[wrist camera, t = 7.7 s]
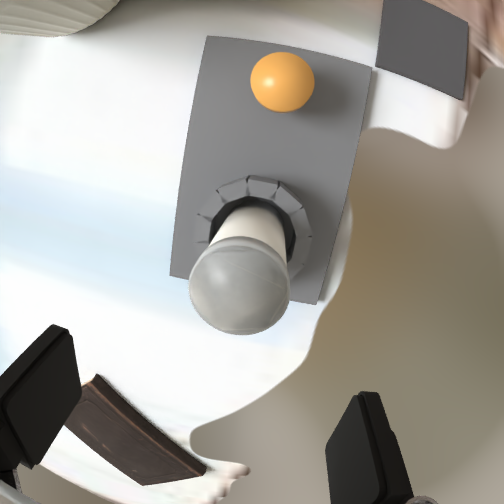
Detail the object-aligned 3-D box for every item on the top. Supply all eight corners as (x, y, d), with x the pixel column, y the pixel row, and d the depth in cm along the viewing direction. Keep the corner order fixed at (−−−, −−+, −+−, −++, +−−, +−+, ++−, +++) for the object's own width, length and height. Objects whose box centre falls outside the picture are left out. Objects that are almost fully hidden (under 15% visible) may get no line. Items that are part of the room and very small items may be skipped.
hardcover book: (145, 477, 46) (142, 486, 44) (51, 398, 41) (44, 406, 39) (207, 464, 42) (205, 475, 40) (99, 370, 37) (91, 381, 35)
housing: (368, 69, 23) (383, 59, 19) (315, 300, 30) (319, 321, 27) (209, 39, 23) (198, 24, 19) (172, 271, 30) (159, 289, 27)
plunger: (312, 71, 23) (319, 59, 19) (303, 120, 24) (308, 116, 20) (259, 61, 23) (256, 47, 19) (250, 110, 24) (245, 104, 20)
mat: (464, 24, 20) (467, 22, 19) (459, 100, 23) (462, 99, 22) (384, -12, 20) (386, -14, 19) (375, 66, 23) (377, 64, 22)
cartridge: (290, 205, 27) (301, 254, 15) (278, 263, 28) (277, 343, 17) (229, 193, 27) (194, 233, 15) (220, 251, 28) (184, 323, 17)
